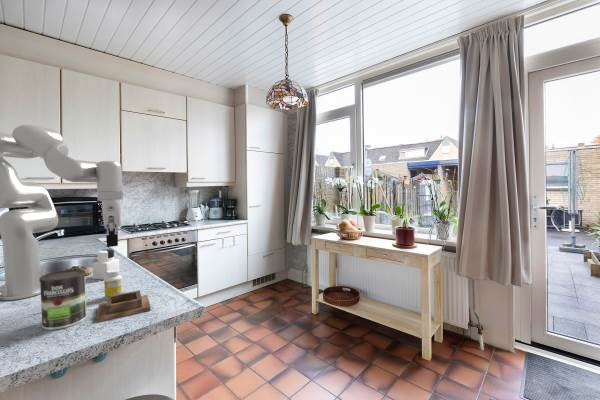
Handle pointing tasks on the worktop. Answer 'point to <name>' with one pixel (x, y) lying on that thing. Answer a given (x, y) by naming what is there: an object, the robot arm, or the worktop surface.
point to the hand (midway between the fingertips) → (112, 244)
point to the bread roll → (87, 270)
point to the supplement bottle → (113, 283)
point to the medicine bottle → (104, 264)
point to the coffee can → (63, 299)
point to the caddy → (123, 305)
